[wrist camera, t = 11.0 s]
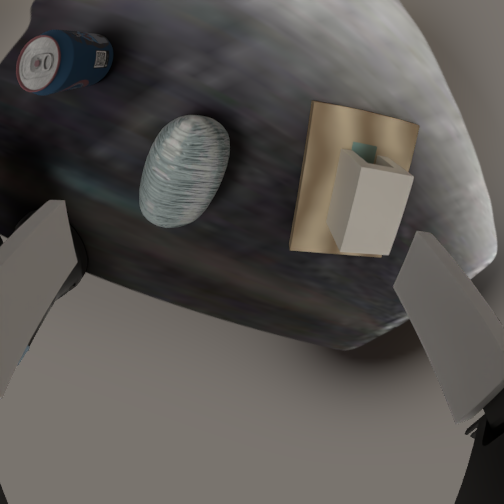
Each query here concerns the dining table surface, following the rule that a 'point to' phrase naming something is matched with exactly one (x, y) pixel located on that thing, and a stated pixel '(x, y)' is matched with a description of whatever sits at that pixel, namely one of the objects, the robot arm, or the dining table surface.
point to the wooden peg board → (326, 162)
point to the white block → (367, 203)
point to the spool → (183, 170)
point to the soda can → (63, 61)
